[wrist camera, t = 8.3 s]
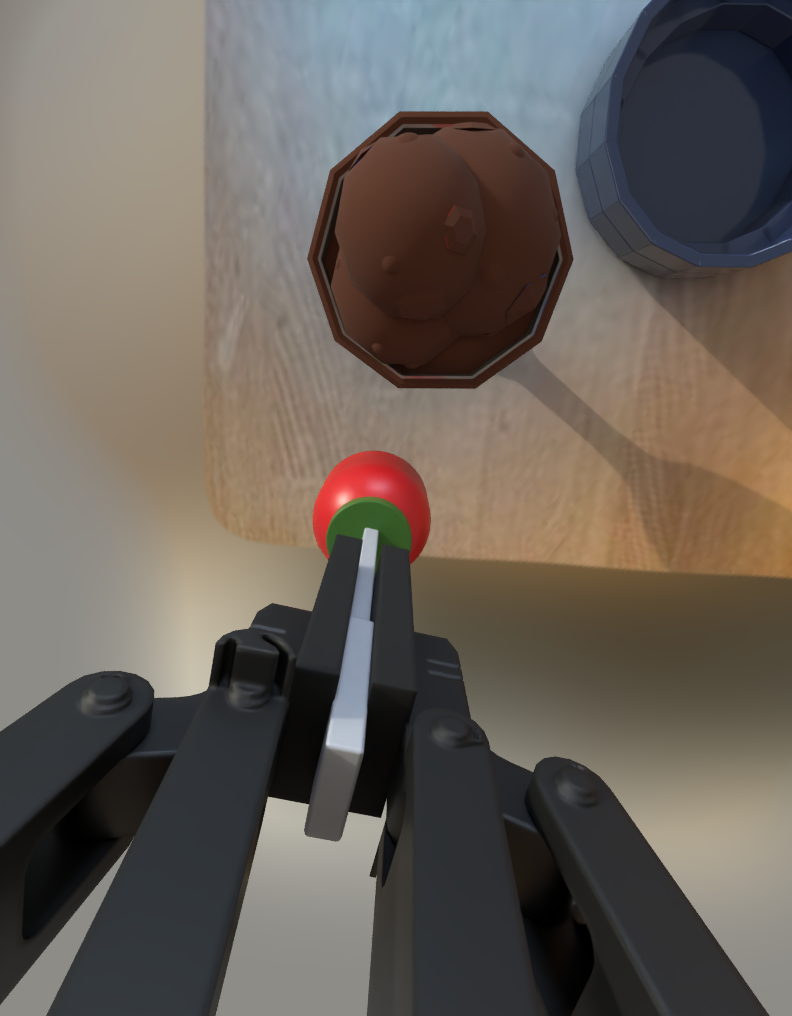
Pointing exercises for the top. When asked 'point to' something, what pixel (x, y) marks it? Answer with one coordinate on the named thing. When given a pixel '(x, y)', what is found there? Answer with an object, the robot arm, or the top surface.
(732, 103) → the dessert bowl
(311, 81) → the top surface
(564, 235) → the ice cream bowl
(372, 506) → the red candy apple
